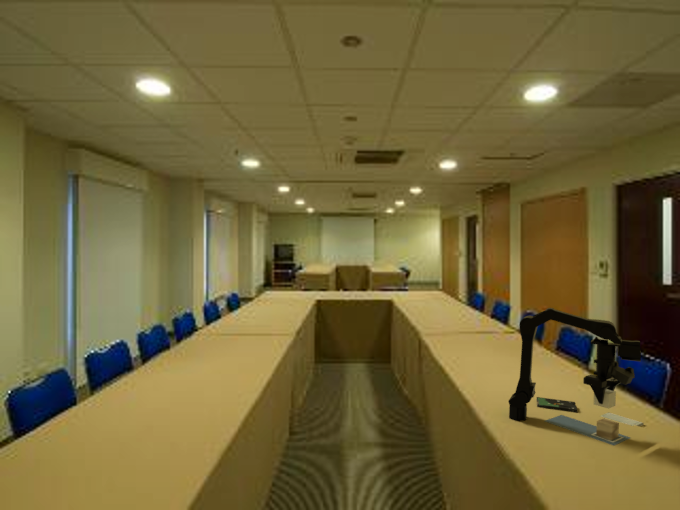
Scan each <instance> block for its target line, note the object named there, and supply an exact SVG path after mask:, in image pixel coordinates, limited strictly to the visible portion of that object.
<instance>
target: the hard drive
mask: <svg viewBox="0 0 680 510" xmlns="http://www.w3.org/2000/svg"><path fill="white" fill-rule="evenodd" d="M600 417H602V418H603V419H604V418H605V419H608V420H611V421H614V422H618V423H622V424H624V425H628V426H633V427H634V426H637V427H643V426H644V422H642V421H638V420H636V419H632V418H628V417H625V416H622V415H619V414H615V413H612V412H606V413H604V414H601V415H600Z"/></svg>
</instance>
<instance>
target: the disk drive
mask: <svg viewBox="0 0 680 510" xmlns="http://www.w3.org/2000/svg"><path fill="white" fill-rule="evenodd" d="M536 407H537V408H542V409H550V410H556V411H563V412H570V413H578V407H577V405H576V402H575V401H572V400H563V399H555V398H549V397H547V398H546V397H541V396H540V397H539V396H536Z"/></svg>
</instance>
